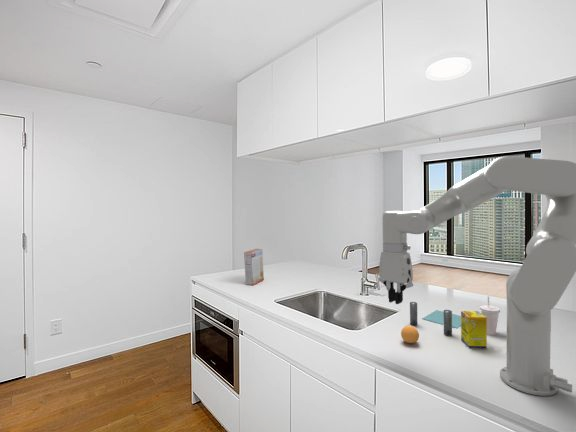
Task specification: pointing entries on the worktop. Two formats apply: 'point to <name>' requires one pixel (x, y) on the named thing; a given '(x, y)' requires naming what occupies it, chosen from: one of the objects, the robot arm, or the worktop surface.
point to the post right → (448, 322)
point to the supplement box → (474, 329)
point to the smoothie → (490, 317)
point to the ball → (410, 334)
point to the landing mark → (439, 318)
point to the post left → (413, 314)
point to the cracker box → (254, 266)
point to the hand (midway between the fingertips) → (395, 302)
